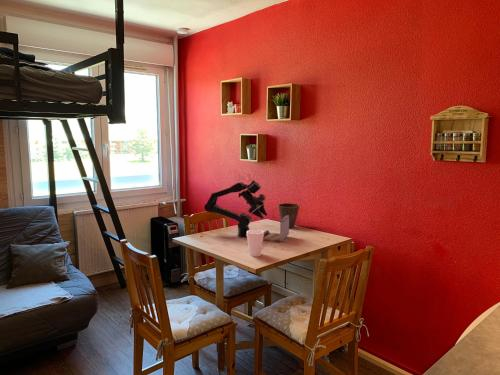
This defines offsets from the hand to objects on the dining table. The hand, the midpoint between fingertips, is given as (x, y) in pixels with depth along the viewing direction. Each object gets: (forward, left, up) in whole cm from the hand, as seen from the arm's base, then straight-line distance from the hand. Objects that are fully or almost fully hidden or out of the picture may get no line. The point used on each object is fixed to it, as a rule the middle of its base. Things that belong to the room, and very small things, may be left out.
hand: (264, 216), depth 241 cm
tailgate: (+7, -10, -12) cm, 17 cm away
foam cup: (-24, -27, -14) cm, 39 cm away
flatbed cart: (+3, -4, -14) cm, 14 cm away
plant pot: (+30, +16, -14) cm, 37 cm away
